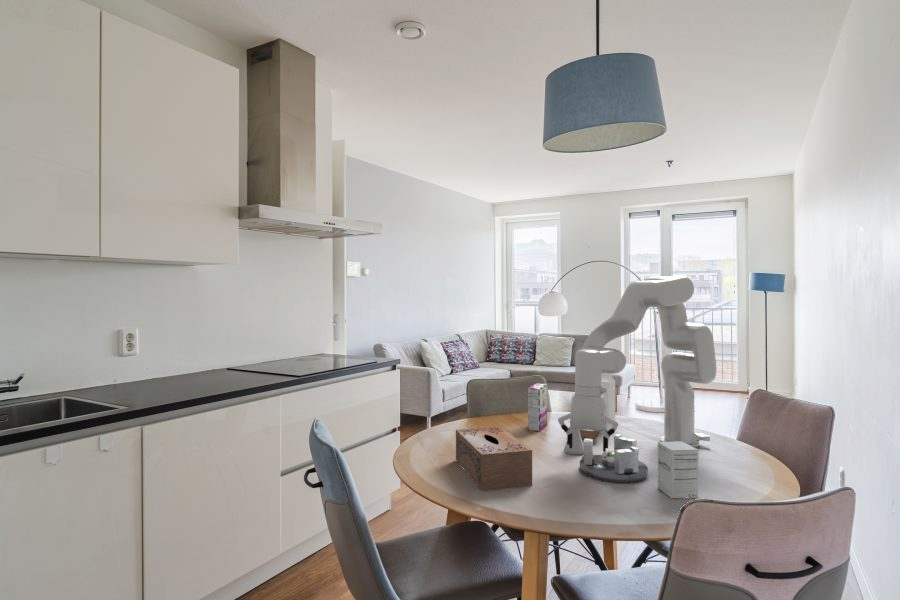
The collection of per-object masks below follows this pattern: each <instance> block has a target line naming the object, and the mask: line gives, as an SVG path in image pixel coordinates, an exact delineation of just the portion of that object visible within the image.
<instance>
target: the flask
mask: <svg viewBox="0 0 900 600" xmlns="http://www.w3.org/2000/svg"><path fill="white" fill-rule="evenodd" d="M572 434H573V446H572V448H571V449H570V448H569V445H567V442H566V443H565V446H564V448H563V451H564V453H566V454H571V455H584V445H583V442H584V441H583V440H582V438H581V435H580V431H579V430H578V429H574V430H573V431H572Z"/></svg>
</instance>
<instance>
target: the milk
mask: <svg viewBox="0 0 900 600" xmlns="http://www.w3.org/2000/svg"><path fill="white" fill-rule="evenodd" d="M601 387H602V388H605V389H606V393H602V394H601V396H604V400H605V411H606V416H607V417H609V418H611V419H612V420H614V421H616V379H614V378H613V374H610V373H602V374H601ZM611 428H612V425H611V424H610V423H608V422H606V425H605V429H606V430H607V431H609V430H610V429H611Z"/></svg>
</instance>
